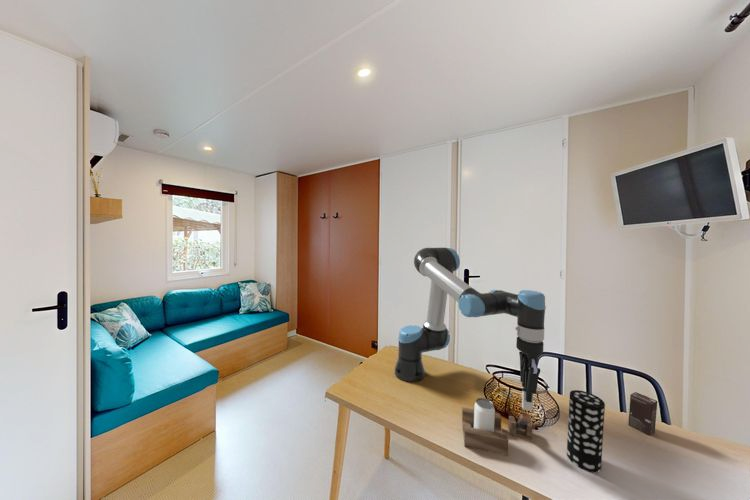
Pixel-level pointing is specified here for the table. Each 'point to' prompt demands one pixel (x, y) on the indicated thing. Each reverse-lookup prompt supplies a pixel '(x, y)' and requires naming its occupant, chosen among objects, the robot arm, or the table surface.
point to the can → (484, 415)
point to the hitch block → (490, 433)
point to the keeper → (523, 421)
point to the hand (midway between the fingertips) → (526, 408)
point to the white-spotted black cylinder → (585, 430)
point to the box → (642, 413)
